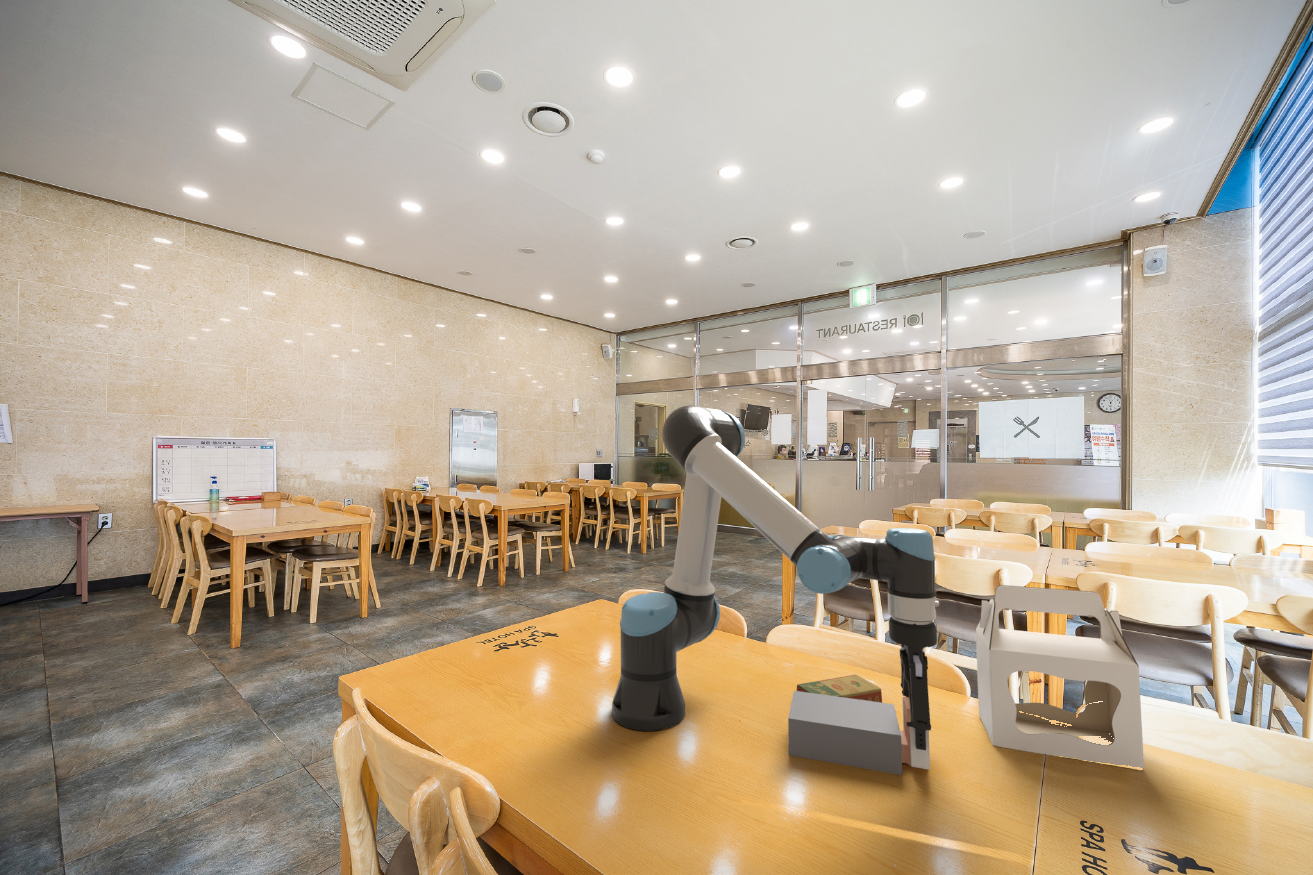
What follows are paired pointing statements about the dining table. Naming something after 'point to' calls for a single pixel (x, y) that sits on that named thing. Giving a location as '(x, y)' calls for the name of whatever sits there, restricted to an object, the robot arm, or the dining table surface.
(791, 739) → the sleeve
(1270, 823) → the dining table surface
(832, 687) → the carton
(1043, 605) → the gable box
